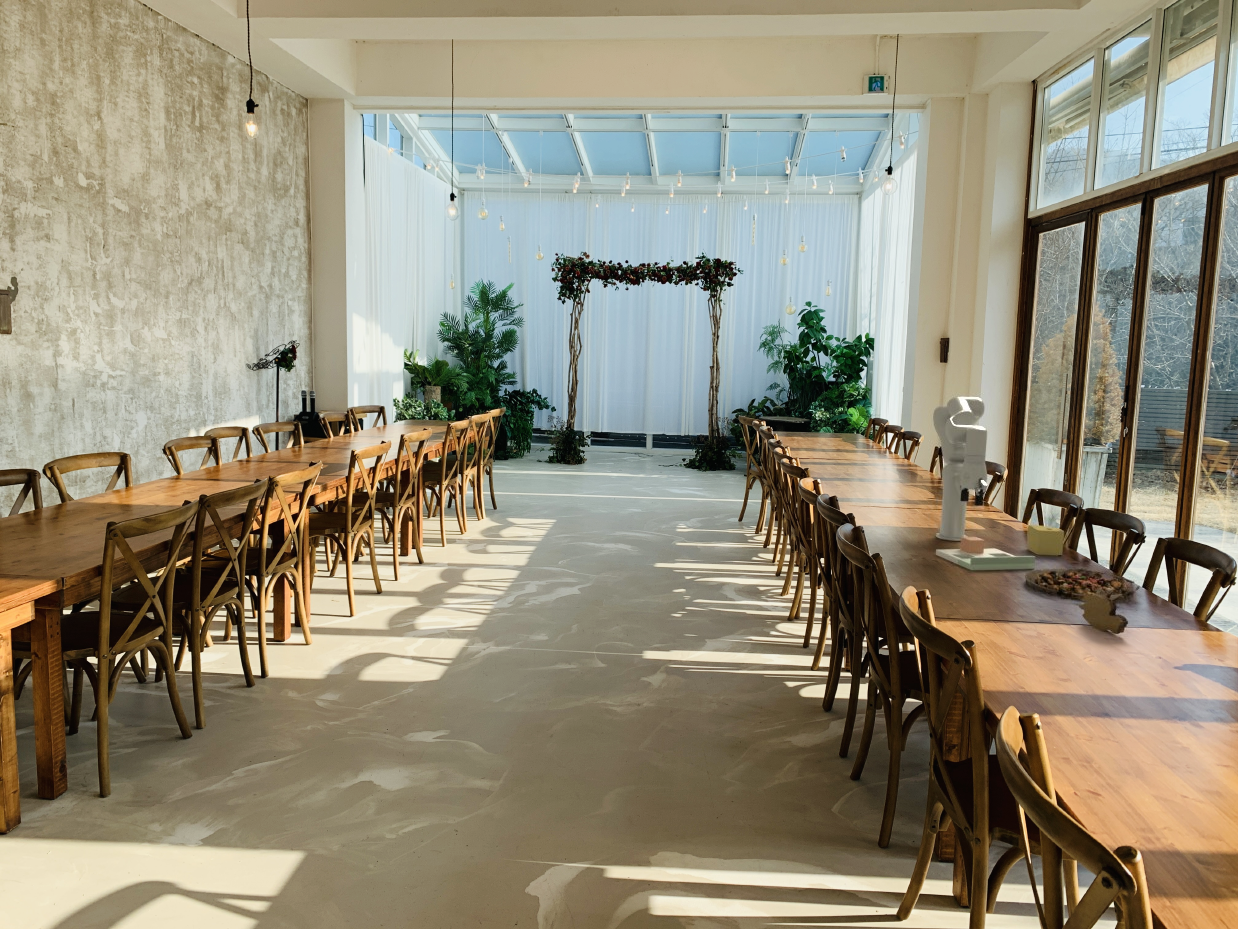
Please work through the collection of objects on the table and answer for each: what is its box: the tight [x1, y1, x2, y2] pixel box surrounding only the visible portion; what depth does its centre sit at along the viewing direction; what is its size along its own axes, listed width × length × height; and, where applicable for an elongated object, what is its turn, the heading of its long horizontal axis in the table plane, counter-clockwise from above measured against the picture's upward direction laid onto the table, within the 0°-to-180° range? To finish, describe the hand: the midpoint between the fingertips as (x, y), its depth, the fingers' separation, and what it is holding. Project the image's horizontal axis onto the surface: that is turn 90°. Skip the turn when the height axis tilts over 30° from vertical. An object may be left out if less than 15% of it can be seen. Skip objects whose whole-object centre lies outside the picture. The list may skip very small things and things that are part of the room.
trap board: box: [935, 548, 1036, 571], centre depth 329 cm, size 24×25×4 cm
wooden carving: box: [1078, 594, 1129, 635], centre depth 249 cm, size 16×5×10 cm, turn 17°
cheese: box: [1026, 524, 1065, 556], centre depth 346 cm, size 10×11×10 cm
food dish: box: [1024, 567, 1140, 605], centre depth 291 cm, size 35×33×8 cm
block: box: [959, 536, 985, 553], centre depth 336 cm, size 6×6×5 cm
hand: (971, 503), depth 342 cm, fingers open, 9 cm apart
